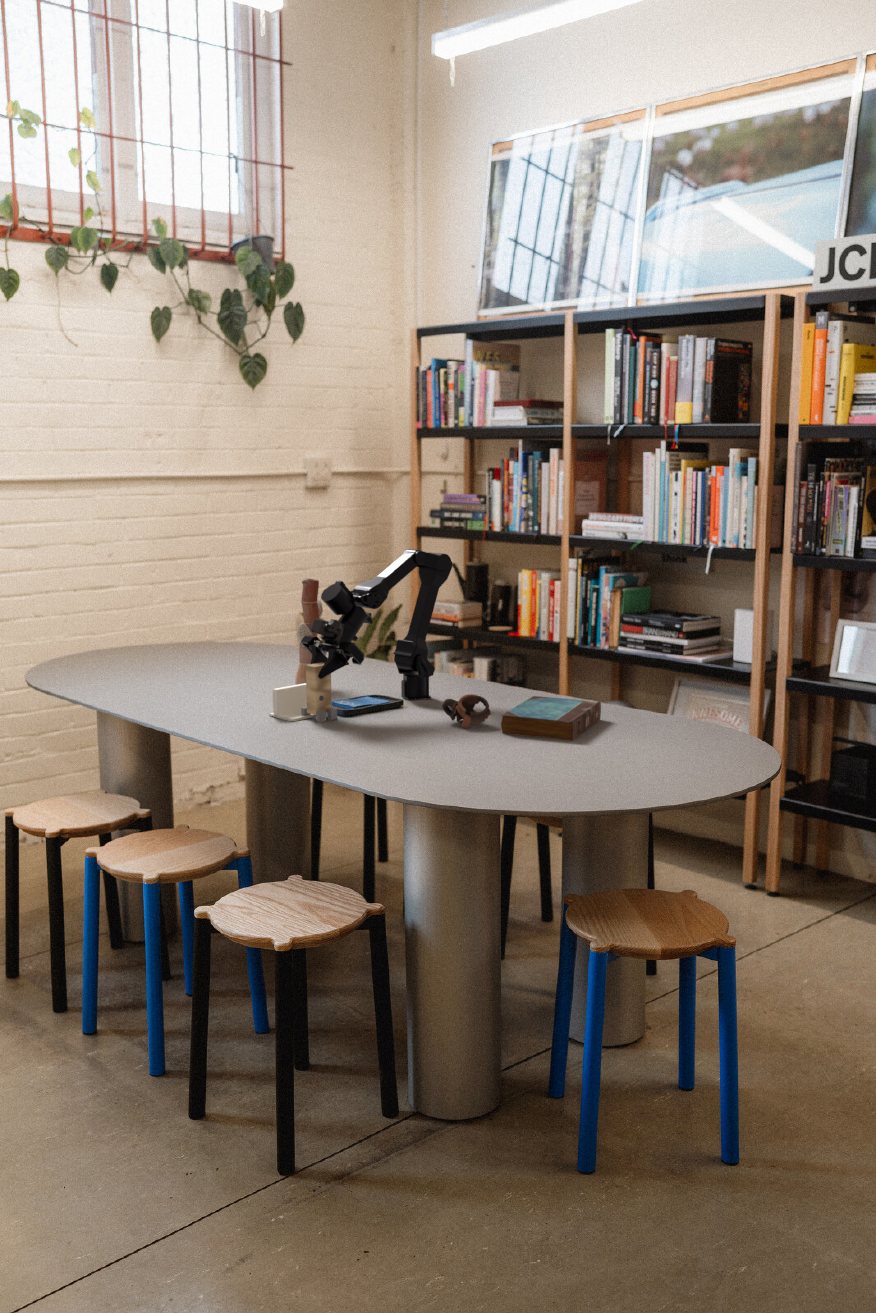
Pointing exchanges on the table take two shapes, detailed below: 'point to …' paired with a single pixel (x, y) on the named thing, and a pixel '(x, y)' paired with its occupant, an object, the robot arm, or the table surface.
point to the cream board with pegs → (296, 705)
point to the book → (551, 718)
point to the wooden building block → (317, 689)
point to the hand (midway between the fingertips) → (314, 676)
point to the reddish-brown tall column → (307, 624)
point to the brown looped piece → (466, 709)
